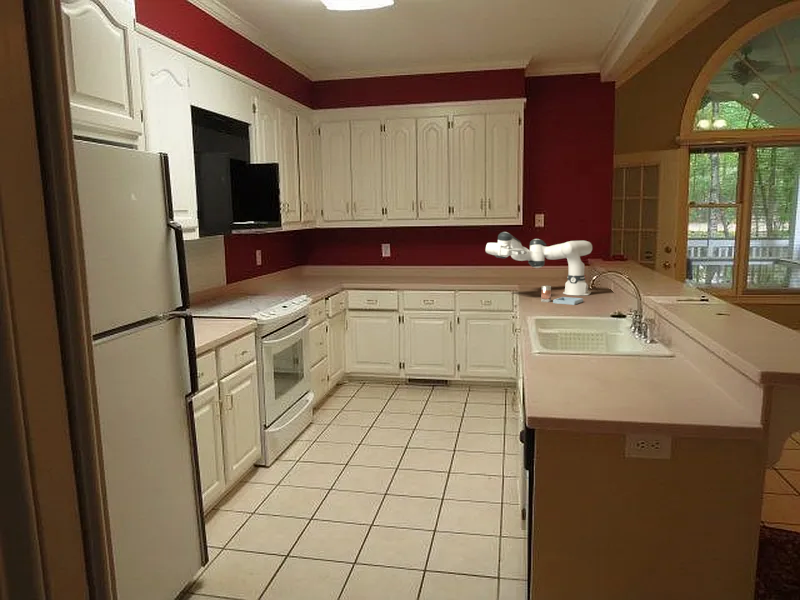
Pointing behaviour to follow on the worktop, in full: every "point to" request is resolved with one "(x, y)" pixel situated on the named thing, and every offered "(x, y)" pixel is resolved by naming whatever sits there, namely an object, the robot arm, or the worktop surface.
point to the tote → (568, 300)
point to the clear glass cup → (546, 294)
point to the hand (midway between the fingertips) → (522, 253)
